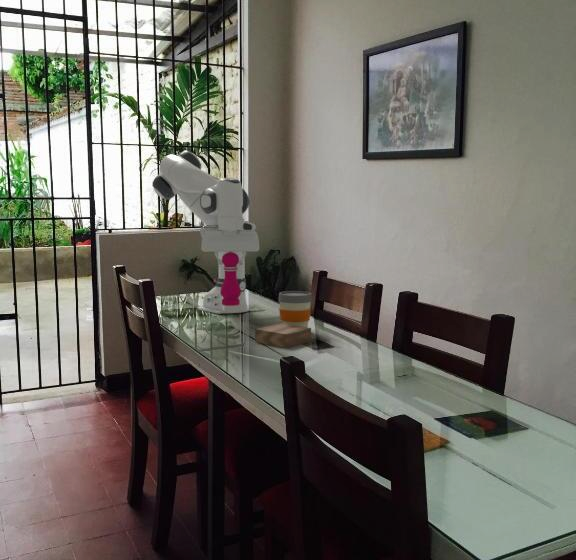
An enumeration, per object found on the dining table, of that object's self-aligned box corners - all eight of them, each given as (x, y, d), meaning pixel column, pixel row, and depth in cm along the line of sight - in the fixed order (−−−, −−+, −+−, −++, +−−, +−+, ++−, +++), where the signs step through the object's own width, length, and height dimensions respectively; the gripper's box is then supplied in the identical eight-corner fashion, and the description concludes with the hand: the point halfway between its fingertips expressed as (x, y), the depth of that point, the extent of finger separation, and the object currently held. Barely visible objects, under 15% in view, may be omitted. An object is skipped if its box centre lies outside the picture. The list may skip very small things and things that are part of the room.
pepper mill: (216, 305, 227) (216, 248, 224) (225, 302, 234) (225, 247, 231) (235, 306, 225) (235, 249, 222) (244, 303, 231) (244, 247, 229)
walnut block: (255, 343, 228) (255, 329, 227) (280, 336, 239) (280, 323, 238) (286, 348, 219) (286, 334, 219) (310, 342, 230) (311, 328, 230)
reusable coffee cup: (306, 328, 252) (306, 290, 250) (315, 335, 240) (316, 295, 238) (275, 330, 249) (275, 291, 247) (282, 336, 237) (282, 296, 235)
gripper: (199, 225, 221) (200, 265, 223) (259, 225, 224) (259, 265, 225) (200, 224, 228) (200, 263, 229) (258, 224, 230) (258, 263, 232)
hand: (230, 264), depth 227 cm, fingers closed on pepper mill, 6 cm apart
